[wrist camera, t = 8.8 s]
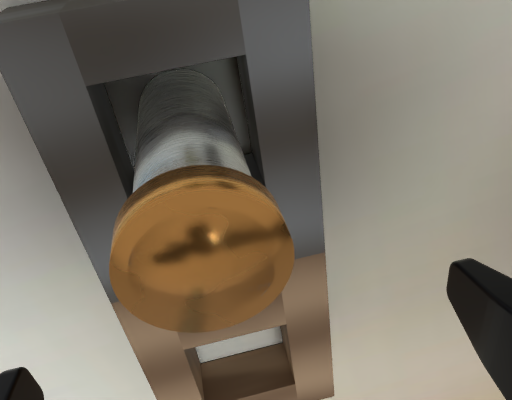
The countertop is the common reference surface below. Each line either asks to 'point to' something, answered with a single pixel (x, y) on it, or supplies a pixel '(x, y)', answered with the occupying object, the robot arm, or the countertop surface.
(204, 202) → the lock pin
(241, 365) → the pin dock plate
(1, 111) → the countertop surface
